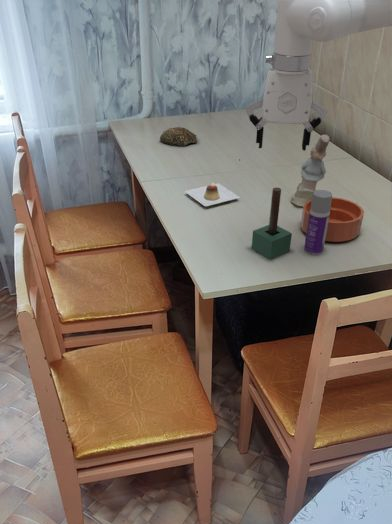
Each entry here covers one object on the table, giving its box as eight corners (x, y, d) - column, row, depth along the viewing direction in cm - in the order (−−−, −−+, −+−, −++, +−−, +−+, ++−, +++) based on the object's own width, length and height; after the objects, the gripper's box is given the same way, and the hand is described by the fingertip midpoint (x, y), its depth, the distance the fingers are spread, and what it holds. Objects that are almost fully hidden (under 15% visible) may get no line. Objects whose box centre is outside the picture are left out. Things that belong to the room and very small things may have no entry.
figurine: (319, 210, 154) (331, 138, 141) (289, 206, 156) (298, 135, 143) (321, 197, 161) (332, 127, 148) (292, 194, 162) (301, 125, 149)
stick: (276, 250, 136) (283, 189, 126) (270, 252, 135) (276, 191, 125) (270, 247, 137) (276, 186, 127) (264, 249, 136) (270, 188, 126)
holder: (289, 251, 136) (292, 233, 133) (270, 259, 133) (272, 241, 129) (270, 240, 140) (272, 223, 137) (251, 248, 137) (252, 230, 134)
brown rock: (155, 141, 197) (154, 127, 194) (178, 132, 204) (177, 119, 201) (181, 149, 191) (181, 135, 188) (204, 140, 198) (204, 126, 195)
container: (302, 253, 135) (311, 196, 125) (305, 244, 138) (314, 188, 129) (321, 256, 134) (331, 199, 124) (324, 247, 137) (334, 191, 128)
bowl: (371, 232, 144) (376, 211, 140) (332, 250, 136) (336, 228, 132) (326, 212, 153) (330, 192, 149) (288, 227, 146) (291, 206, 142)
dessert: (204, 210, 154) (205, 193, 151) (183, 194, 162) (183, 179, 158) (239, 201, 158) (240, 185, 155) (217, 186, 166) (218, 171, 163)
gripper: (247, 65, 108) (242, 151, 119) (335, 68, 107) (322, 155, 118) (249, 57, 114) (244, 139, 125) (332, 60, 112) (320, 143, 123)
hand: (281, 147), depth 121 cm, fingers open, 9 cm apart
